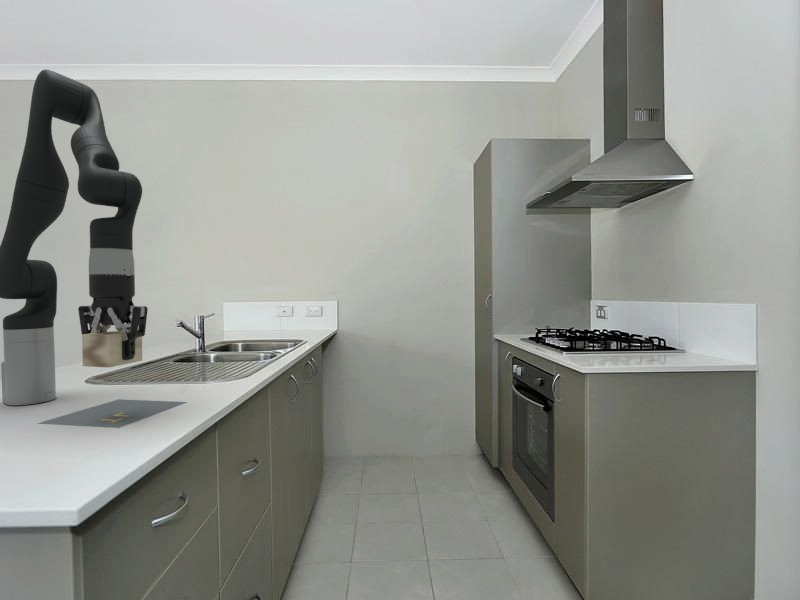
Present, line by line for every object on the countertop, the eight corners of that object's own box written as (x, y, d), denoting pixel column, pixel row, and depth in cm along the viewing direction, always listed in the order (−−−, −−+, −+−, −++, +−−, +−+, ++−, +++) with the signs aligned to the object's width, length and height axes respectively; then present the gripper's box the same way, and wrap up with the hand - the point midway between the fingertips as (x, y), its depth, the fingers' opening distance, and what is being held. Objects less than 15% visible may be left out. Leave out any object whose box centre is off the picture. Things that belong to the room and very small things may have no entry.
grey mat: (37, 425, 86) (37, 423, 86) (118, 401, 105) (118, 399, 105) (118, 430, 82) (118, 427, 82) (187, 404, 101) (187, 401, 101)
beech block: (82, 366, 86) (82, 334, 86) (117, 359, 94) (116, 330, 93) (109, 367, 85) (109, 335, 84) (142, 360, 92) (141, 331, 92)
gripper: (63, 272, 86) (65, 360, 87) (128, 272, 83) (130, 363, 84) (97, 273, 94) (99, 355, 94) (158, 273, 91) (159, 357, 91)
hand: (113, 358), depth 89 cm, fingers closed on beech block, 6 cm apart
